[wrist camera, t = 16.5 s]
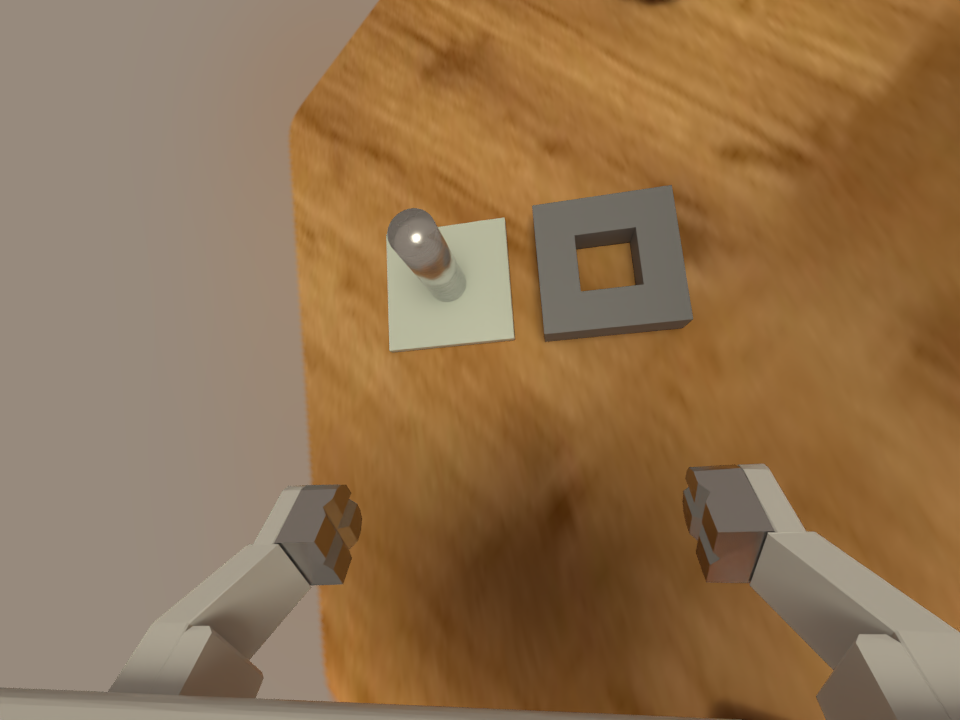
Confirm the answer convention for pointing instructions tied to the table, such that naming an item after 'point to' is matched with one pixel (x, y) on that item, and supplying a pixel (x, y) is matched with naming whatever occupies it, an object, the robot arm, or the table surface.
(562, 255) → the square socket
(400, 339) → the pad
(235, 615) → the robot arm
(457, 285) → the peg
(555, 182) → the table surface
